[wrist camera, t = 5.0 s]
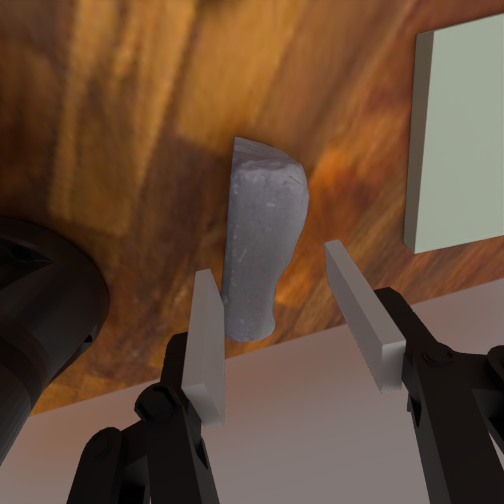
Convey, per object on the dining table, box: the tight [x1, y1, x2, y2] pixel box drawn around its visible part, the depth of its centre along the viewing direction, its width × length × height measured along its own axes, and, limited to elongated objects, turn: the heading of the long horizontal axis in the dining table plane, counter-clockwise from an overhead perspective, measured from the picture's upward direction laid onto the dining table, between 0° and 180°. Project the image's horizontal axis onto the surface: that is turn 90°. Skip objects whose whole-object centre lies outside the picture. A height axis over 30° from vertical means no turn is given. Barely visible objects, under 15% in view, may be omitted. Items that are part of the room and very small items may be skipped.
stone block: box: [220, 137, 309, 342], centre depth 20 cm, size 12×5×10 cm, turn 171°
